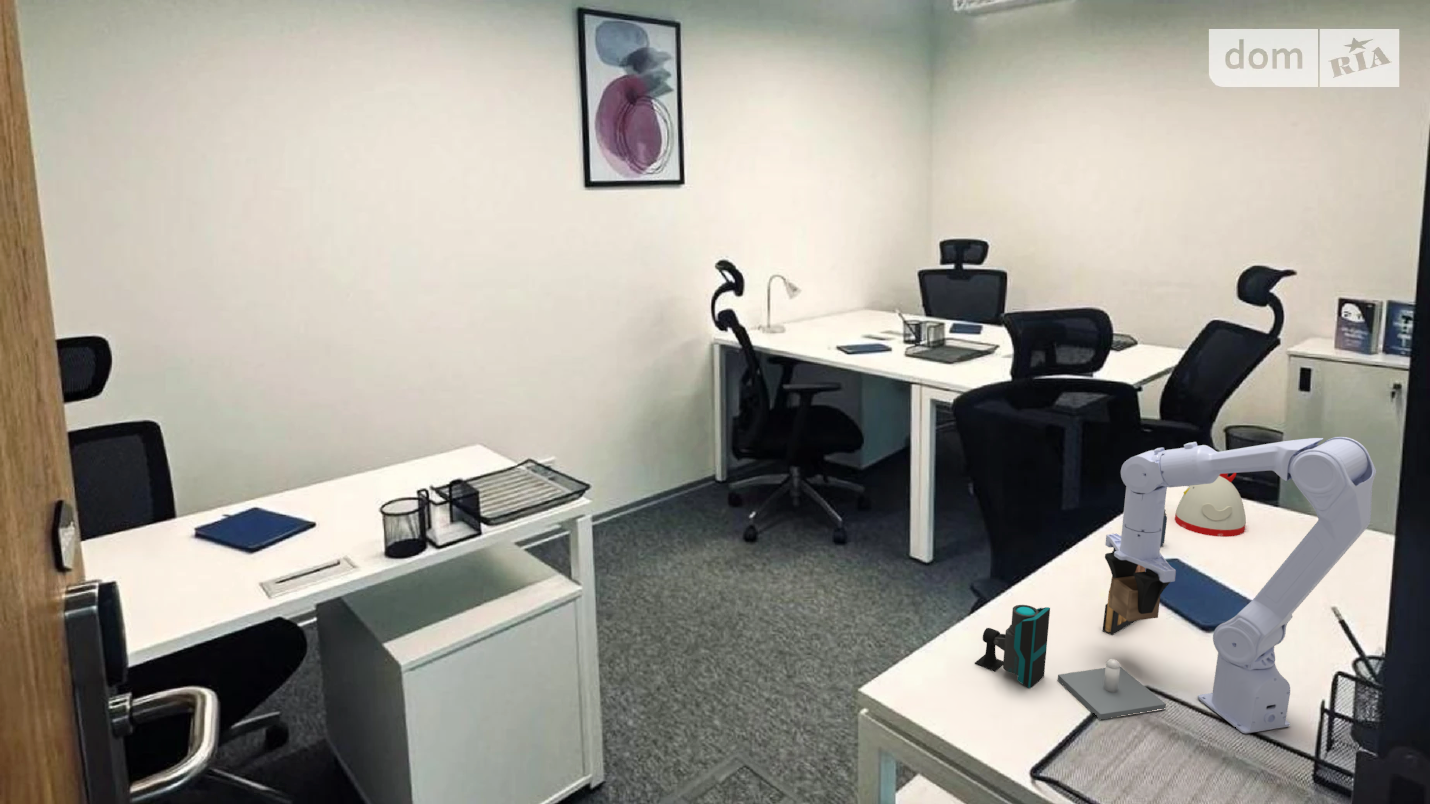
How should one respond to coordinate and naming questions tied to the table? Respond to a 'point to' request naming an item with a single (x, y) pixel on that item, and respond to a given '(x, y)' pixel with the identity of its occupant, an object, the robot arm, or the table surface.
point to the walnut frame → (1128, 599)
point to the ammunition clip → (1116, 615)
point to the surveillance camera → (1020, 645)
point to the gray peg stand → (1110, 691)
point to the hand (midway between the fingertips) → (1133, 604)
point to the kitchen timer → (1212, 508)
